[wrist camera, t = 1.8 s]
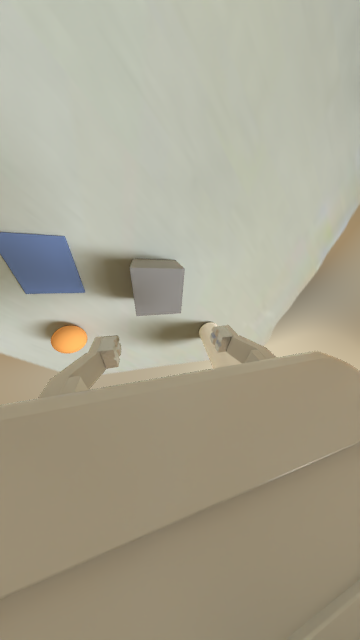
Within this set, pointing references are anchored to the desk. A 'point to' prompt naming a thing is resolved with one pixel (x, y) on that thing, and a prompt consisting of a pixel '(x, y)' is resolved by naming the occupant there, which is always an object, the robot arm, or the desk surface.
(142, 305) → the block
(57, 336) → the orange egg
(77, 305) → the desk surface
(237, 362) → the white cup
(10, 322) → the desk surface
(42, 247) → the tape mark
